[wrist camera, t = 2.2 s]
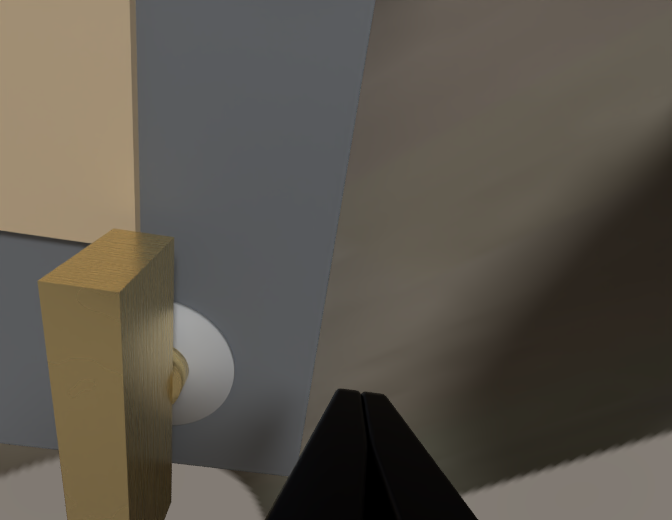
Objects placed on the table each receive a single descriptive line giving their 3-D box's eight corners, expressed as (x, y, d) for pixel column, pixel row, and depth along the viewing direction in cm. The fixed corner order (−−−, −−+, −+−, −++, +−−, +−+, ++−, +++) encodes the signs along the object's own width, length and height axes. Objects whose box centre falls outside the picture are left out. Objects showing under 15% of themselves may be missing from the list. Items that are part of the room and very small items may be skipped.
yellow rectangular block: (195, 224, 11) (130, 293, 8) (187, 475, 15) (140, 601, 11) (124, 213, 11) (25, 279, 8) (133, 469, 15) (68, 594, 11)
